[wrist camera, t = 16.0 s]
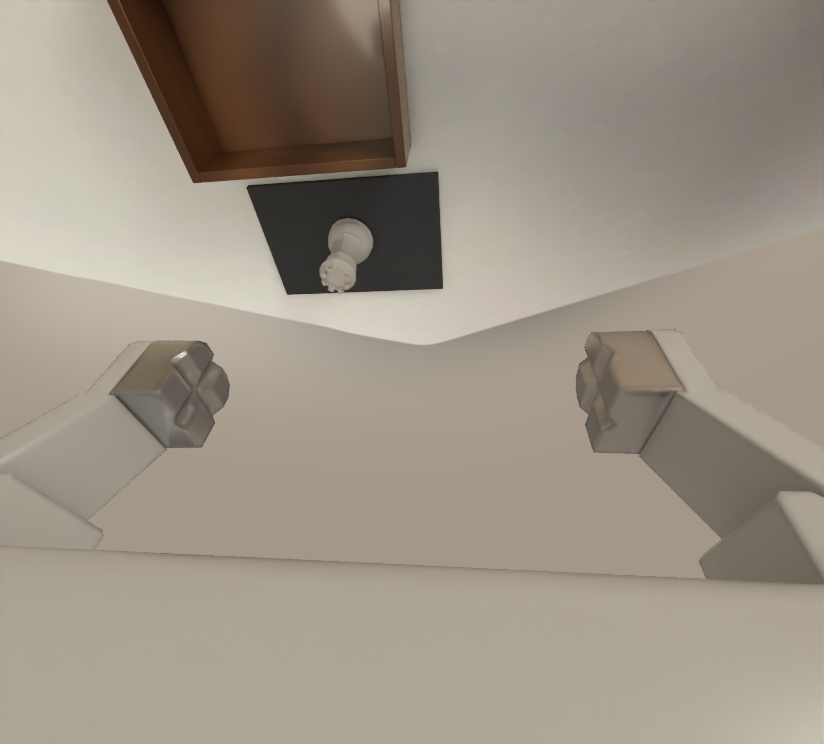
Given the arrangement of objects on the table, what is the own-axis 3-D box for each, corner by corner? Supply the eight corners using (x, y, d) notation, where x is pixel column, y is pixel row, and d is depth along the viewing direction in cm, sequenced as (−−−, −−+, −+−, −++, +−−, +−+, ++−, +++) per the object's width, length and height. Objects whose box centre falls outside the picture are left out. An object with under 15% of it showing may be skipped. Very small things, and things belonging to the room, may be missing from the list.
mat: (438, 171, 35) (437, 173, 34) (442, 286, 43) (442, 288, 43) (248, 185, 37) (246, 187, 36) (288, 292, 45) (287, 294, 45)
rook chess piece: (325, 216, 38) (303, 258, 32) (370, 215, 37) (356, 257, 32) (335, 258, 41) (316, 302, 35) (376, 257, 40) (364, 302, 35)
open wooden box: (388, -129, 23) (376, -149, 19) (411, 146, 33) (406, 167, 30) (119, -84, 25) (61, -95, 21) (220, 161, 35) (193, 183, 32)
